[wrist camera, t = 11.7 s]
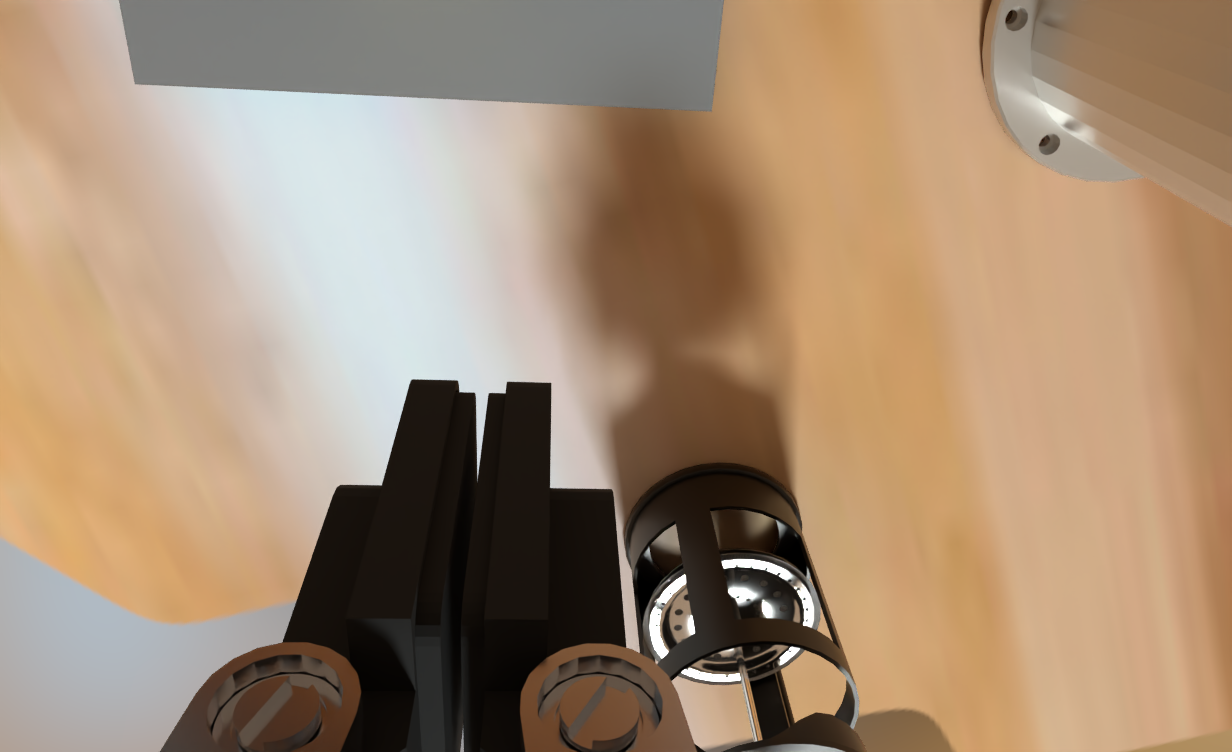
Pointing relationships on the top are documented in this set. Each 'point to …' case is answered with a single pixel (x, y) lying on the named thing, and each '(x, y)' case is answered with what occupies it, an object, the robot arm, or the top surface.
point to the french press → (737, 604)
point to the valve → (436, 48)
